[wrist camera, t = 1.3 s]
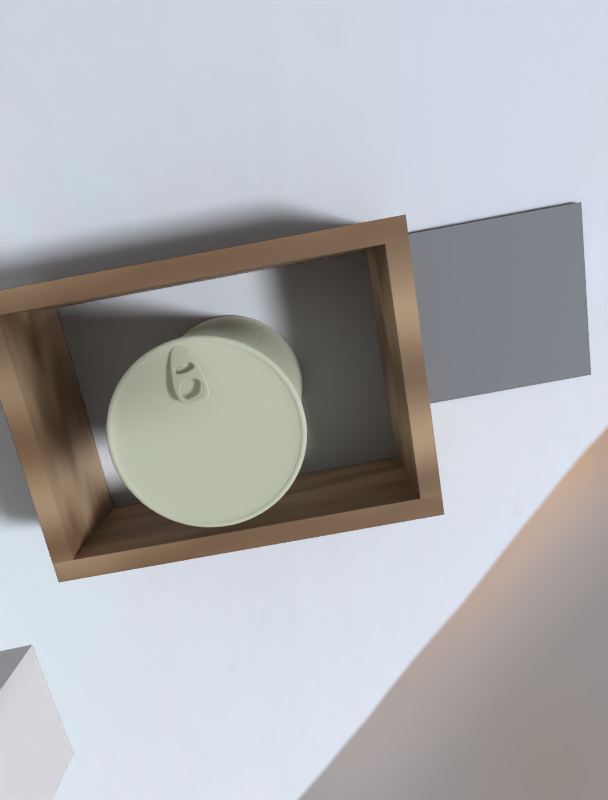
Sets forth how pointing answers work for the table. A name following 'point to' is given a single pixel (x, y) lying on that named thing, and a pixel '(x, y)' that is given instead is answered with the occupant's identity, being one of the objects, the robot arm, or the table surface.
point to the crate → (309, 493)
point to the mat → (502, 302)
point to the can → (210, 423)
